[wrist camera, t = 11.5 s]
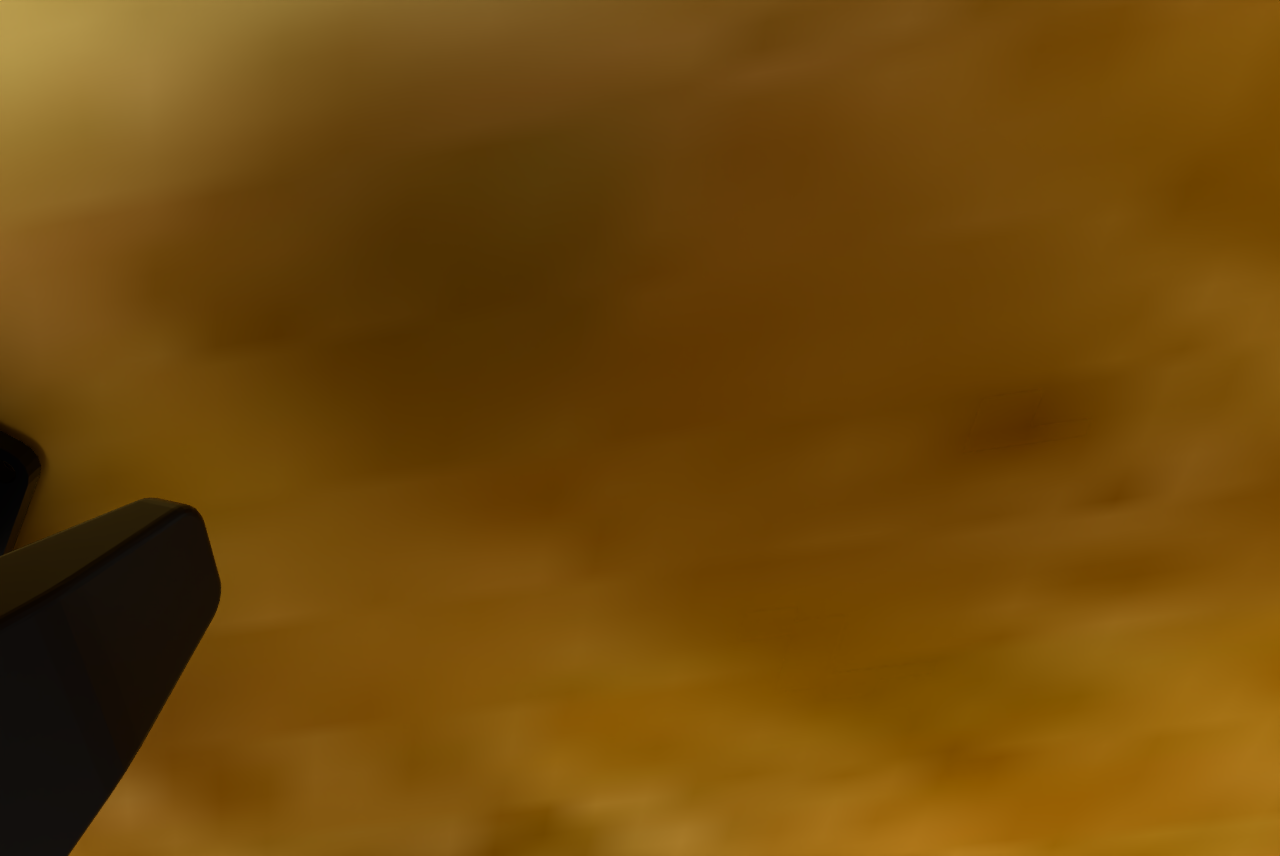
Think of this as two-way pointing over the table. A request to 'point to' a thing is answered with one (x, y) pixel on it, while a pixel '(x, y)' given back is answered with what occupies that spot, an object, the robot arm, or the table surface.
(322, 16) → the table surface
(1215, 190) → the table surface
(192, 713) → the table surface
